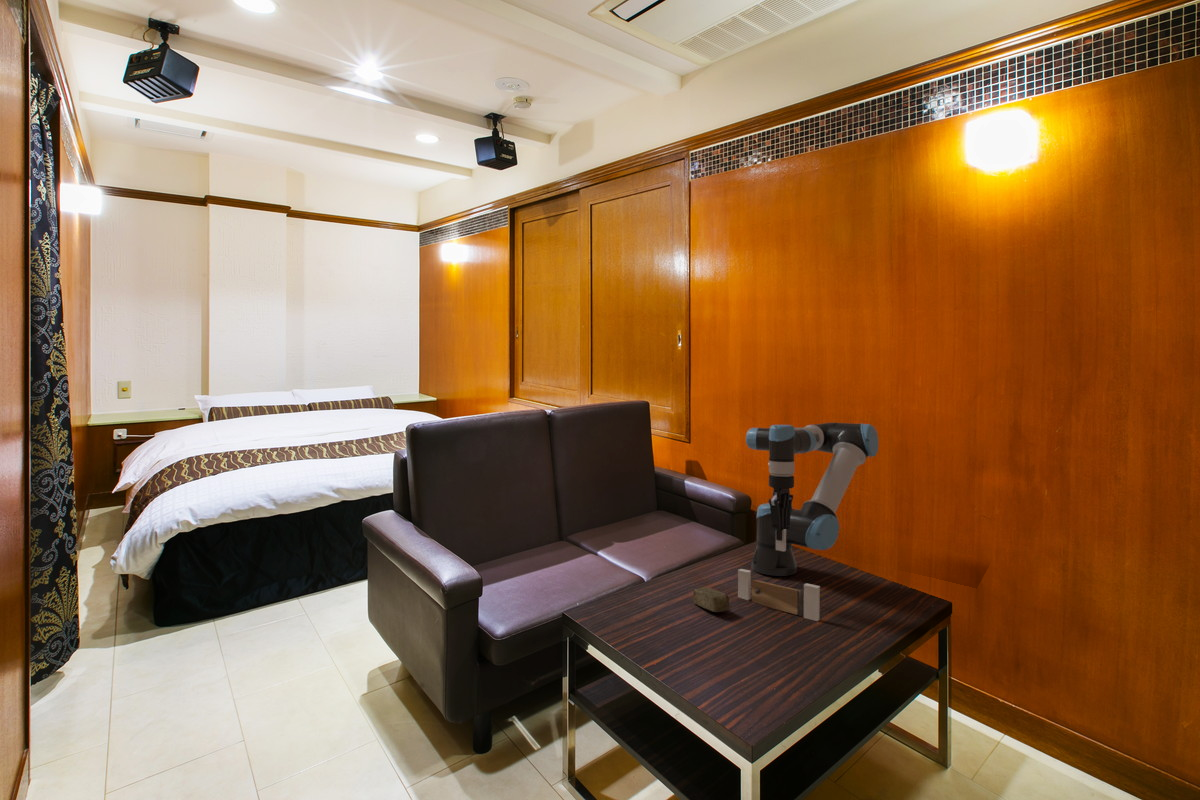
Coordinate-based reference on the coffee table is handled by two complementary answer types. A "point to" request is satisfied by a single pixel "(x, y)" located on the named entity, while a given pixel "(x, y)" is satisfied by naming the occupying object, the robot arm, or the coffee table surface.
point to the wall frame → (809, 594)
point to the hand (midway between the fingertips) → (780, 550)
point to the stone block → (711, 599)
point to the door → (778, 597)
